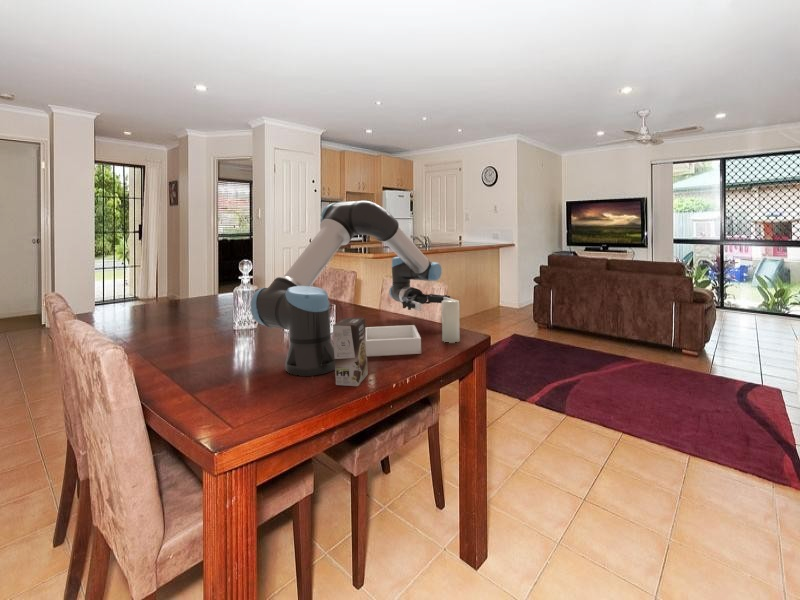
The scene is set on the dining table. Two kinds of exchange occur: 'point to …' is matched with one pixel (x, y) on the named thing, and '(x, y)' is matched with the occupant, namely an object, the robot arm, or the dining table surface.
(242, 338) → the dining table surface
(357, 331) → the coffee box
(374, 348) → the tote
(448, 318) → the canister
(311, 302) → the robot arm
